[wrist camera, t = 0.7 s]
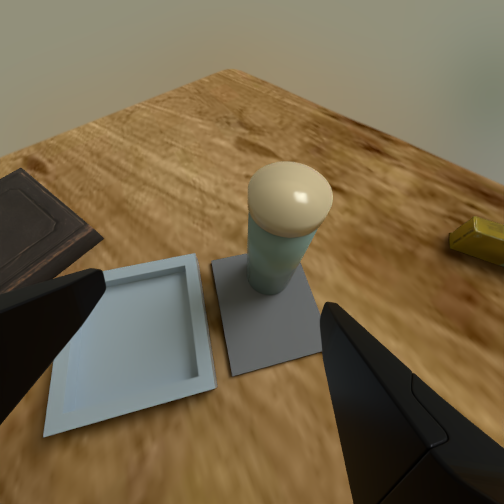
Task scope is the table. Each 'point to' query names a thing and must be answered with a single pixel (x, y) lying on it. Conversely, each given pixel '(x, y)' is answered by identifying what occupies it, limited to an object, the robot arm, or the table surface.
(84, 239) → the hardcover book
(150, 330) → the dish
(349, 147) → the table surface
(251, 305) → the mat
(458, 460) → the robot arm
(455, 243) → the medication box
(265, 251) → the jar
